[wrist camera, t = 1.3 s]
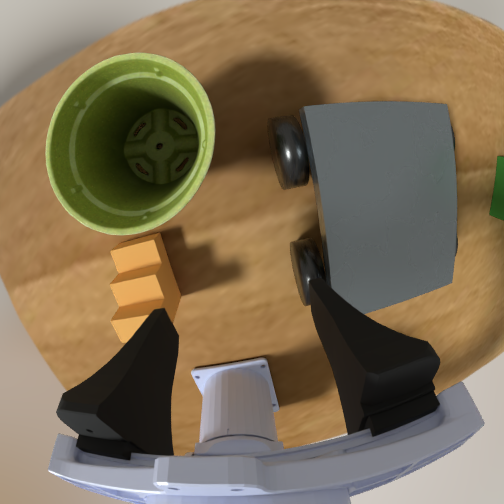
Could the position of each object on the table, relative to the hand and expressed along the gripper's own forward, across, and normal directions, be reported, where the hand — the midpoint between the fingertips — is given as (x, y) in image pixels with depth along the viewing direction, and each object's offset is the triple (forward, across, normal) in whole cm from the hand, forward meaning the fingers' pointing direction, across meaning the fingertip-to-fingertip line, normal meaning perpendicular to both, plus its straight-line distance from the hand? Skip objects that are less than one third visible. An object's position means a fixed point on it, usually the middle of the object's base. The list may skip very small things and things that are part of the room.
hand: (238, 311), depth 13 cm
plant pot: (+11, +4, -8) cm, 14 cm away
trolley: (+10, -11, -1) cm, 15 cm away
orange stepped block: (+9, +8, +2) cm, 13 cm away
